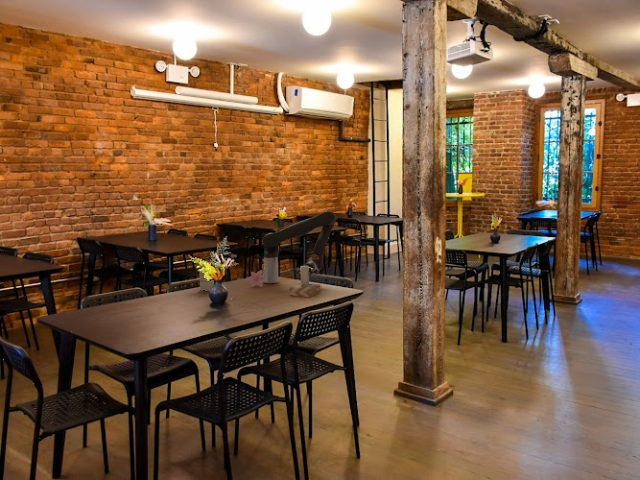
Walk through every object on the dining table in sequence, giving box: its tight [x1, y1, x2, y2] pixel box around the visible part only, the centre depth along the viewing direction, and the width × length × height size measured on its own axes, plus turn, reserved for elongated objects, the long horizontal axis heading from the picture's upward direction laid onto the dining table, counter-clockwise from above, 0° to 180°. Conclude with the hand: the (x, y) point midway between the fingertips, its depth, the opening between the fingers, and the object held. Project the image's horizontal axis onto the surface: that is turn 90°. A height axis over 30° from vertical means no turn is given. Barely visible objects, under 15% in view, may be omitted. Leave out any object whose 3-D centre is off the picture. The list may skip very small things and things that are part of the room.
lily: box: [245, 269, 266, 288], centre depth 387 cm, size 12×12×10 cm
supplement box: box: [199, 262, 214, 292], centre depth 376 cm, size 10×9×17 cm
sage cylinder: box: [299, 265, 310, 287], centre depth 358 cm, size 5×5×12 cm
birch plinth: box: [288, 282, 321, 298], centre depth 359 cm, size 14×14×5 cm
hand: (304, 272), depth 356 cm, fingers open, 8 cm apart
